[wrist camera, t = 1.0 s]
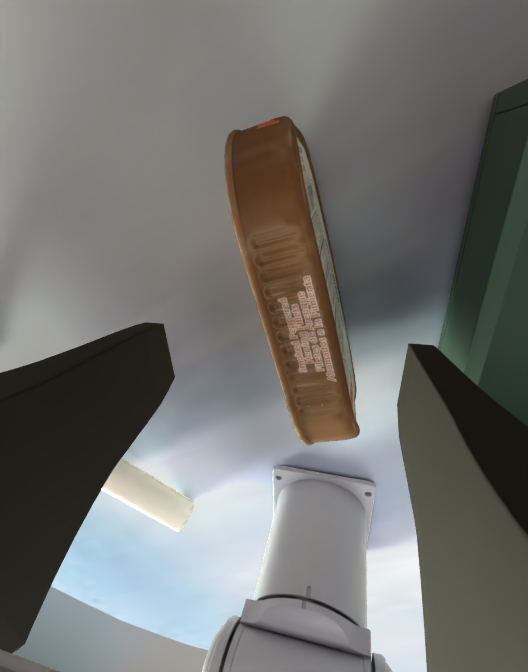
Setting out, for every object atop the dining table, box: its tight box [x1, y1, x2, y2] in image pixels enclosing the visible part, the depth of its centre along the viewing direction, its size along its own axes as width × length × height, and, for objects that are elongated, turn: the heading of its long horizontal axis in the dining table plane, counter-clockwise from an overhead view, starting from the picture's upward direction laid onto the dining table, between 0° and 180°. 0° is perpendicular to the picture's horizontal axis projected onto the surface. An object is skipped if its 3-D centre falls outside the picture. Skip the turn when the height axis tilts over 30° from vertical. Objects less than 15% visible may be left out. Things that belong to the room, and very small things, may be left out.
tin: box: [224, 116, 360, 445], centre depth 16 cm, size 15×3×8 cm, turn 16°
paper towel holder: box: [101, 458, 194, 531], centre depth 28 cm, size 9×9×32 cm
